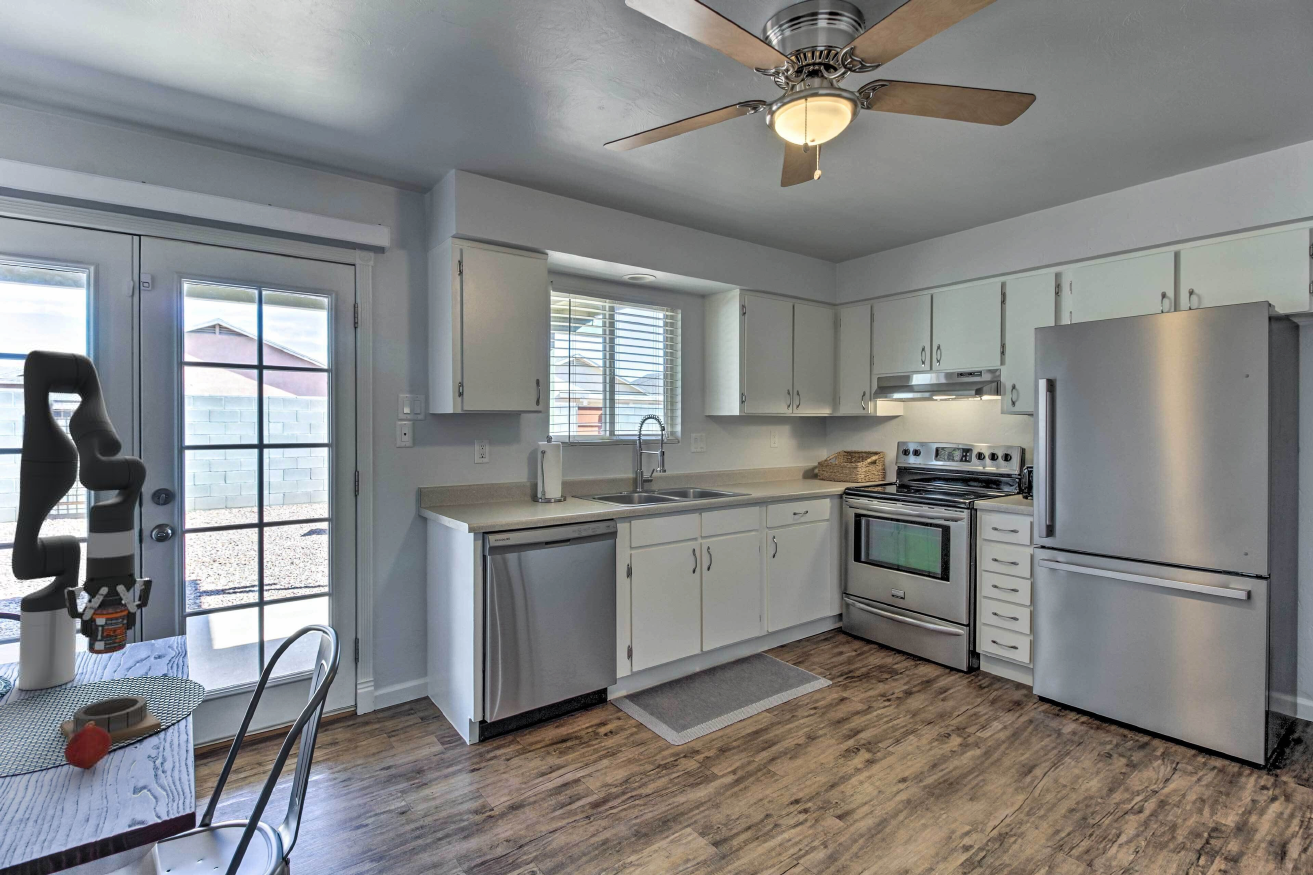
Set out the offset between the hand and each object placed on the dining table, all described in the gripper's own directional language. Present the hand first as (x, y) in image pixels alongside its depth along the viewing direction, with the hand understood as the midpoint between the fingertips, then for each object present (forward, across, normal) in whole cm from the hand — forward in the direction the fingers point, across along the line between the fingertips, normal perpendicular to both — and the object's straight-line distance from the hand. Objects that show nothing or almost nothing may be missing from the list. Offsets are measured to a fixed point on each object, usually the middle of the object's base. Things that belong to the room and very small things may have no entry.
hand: (108, 632), depth 130 cm
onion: (+15, +8, +28) cm, 33 cm away
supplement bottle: (+4, 0, 0) cm, 4 cm away
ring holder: (+15, +2, +14) cm, 21 cm away
